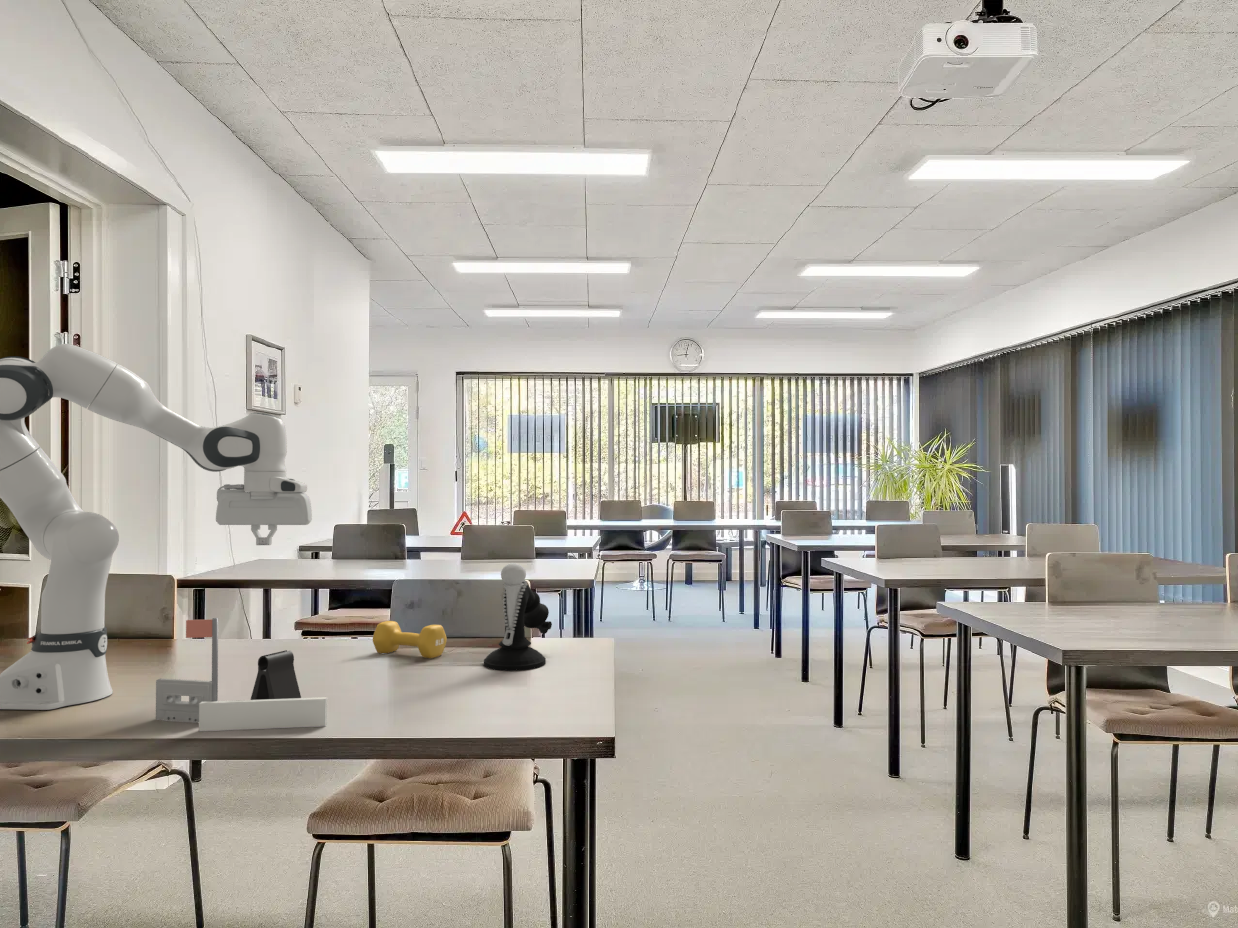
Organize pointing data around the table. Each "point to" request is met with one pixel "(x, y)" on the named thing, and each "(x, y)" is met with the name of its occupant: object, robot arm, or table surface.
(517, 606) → the sculpture
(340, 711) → the table surface
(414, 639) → the dumbbell
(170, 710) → the cassette
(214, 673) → the flag on white base
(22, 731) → the table surface
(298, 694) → the phone stand
